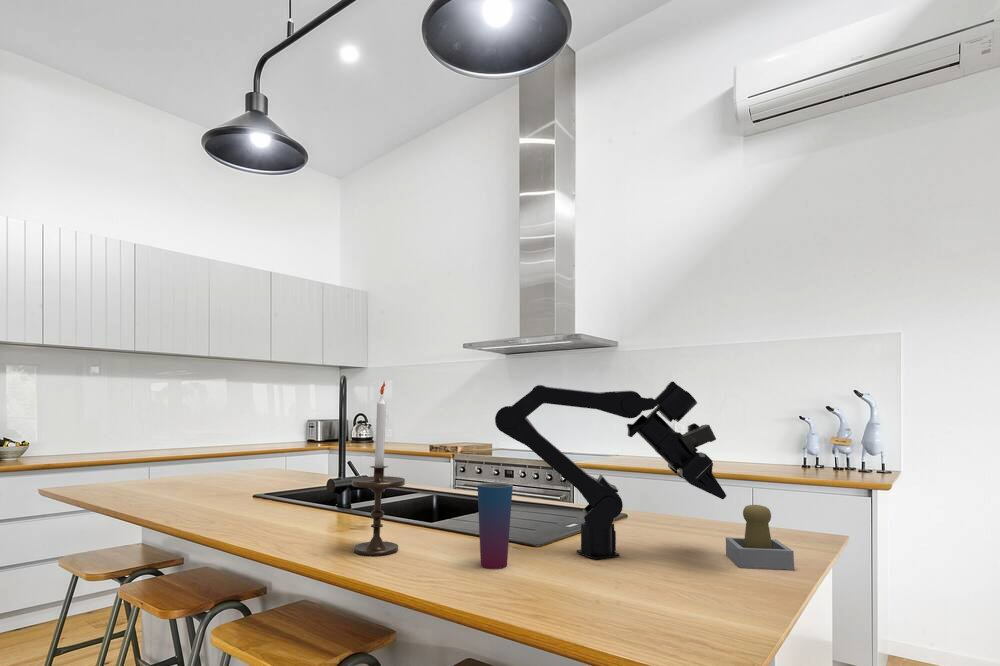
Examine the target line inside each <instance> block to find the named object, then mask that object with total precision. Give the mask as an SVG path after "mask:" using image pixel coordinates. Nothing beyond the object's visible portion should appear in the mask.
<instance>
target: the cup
mask: <svg viewBox="0 0 1000 666" xmlns="http://www.w3.org/2000/svg"><path fill="white" fill-rule="evenodd" d="M513 486H514V484H512V483H508V482H507V483H506V482H498V481H497V482H495V481H493V482H480V483H478V484H477V505H478V506H477V507H478V528H479V529H478V530H479V532H478V533H479V534H478V535H479V553H480V555H479V558H480V566H481V567H482V568H484V569H487V570H488V569H489V570H498V569H499V570H500V569H505V568H507V566H508V559H509V558H508V555H509V543H510V541H509V540H510V530H511V529H510V526H511V516H512V514H511V513H512V512H511V511H512V503H513V490H514V489H513Z"/></svg>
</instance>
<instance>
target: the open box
mask: <svg viewBox="0 0 1000 666" xmlns="http://www.w3.org/2000/svg"><path fill="white" fill-rule="evenodd" d="M744 539H745V537H727V536H726V537H725V555H726V556H727V557H728V558H729V559H730V560H731V561H732V562H733V564H735V565H736V566H737V567H738V568H740V569H757V568H762V570H778V569H785V570H784V571H795V558H794V557H795V554H794V553H795V552H794V550H793V549H792V548H789V547H788V546H786V545H785V544H783V543H782V542H781V541H779V540H777V539H774V538H771V542H772V548H773V549H760V548H744ZM763 568H764V569H763ZM786 569H787V570H786Z"/></svg>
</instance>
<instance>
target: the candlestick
mask: <svg viewBox="0 0 1000 666" xmlns="http://www.w3.org/2000/svg"><path fill="white" fill-rule="evenodd" d="M385 387H386V383H385V380H383V383H382V385H381V387H380V390H379V393H380V396H379V397H380V398H379V400H378V401H377V402H376V419H375V420H376V421H375V422H376V423H375V424H376V425H375V446H374V451H375V452H374V465H372V466H369V468H370V469H371V468H372V469H373V476H361V477H356V478H352V479H351V486H352V487H354V488H362V489H368V490H371V492H372V493H374V505H373V506H374V509H373V510H372V511H371V512H370V517H371V518H372V519H373V522H372V524H371V525H370V528H372V530H373V531H372V532H373V533H372V537H371V539H370V540H369V541H365V542H361V543H358V544H355V545H354V546H353V551H352V552H353V554H355V555H357V556H360V557H386V556H390V555H393V554H394V555H395V554H397V553H398V552H399V544H398V543H395V542H392V541H391V542H390V541H383V540H382V537H381V528H383V527H384V524H382V518H383V517H384V515H385V512H384V510H382V509H381V508H382V493H384V492H385V490H388V489H391V488H398V487H403V486H405V482H406V480H405V478H404V477H400V476H390V475H389V476H388V475H387V476H385V469H386V468H389V466H388V465H387V466H386V465H385V439H386V417H387V416H386V413H387V411H386V410H387V402H385V399H384V393H385Z"/></svg>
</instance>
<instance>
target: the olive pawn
mask: <svg viewBox="0 0 1000 666" xmlns="http://www.w3.org/2000/svg"><path fill="white" fill-rule="evenodd" d="M742 517H743V519H744V521H745V531H744V538H745V539H744V548H760V549H773V548H772V542H771V539H772V536H771V531H770V526H769V523H770V521H771V518H772V512H771V510H770V508H769V507H767V506H764V505H761V504H749V505H746V506H744V508H743V511H742Z"/></svg>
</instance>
